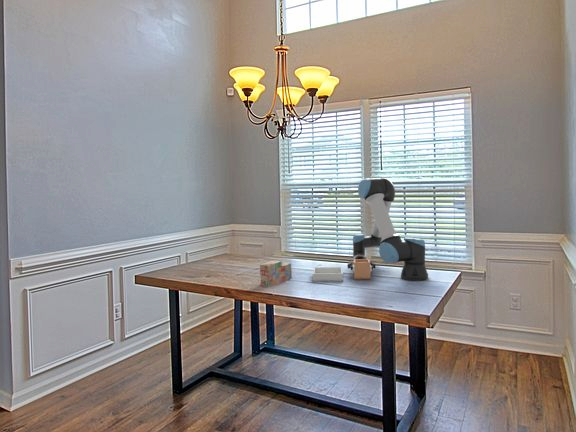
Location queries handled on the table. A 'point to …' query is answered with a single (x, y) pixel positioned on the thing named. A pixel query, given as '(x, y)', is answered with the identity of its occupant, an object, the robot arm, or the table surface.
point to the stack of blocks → (275, 272)
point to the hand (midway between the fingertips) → (362, 269)
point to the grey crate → (327, 274)
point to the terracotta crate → (361, 269)
